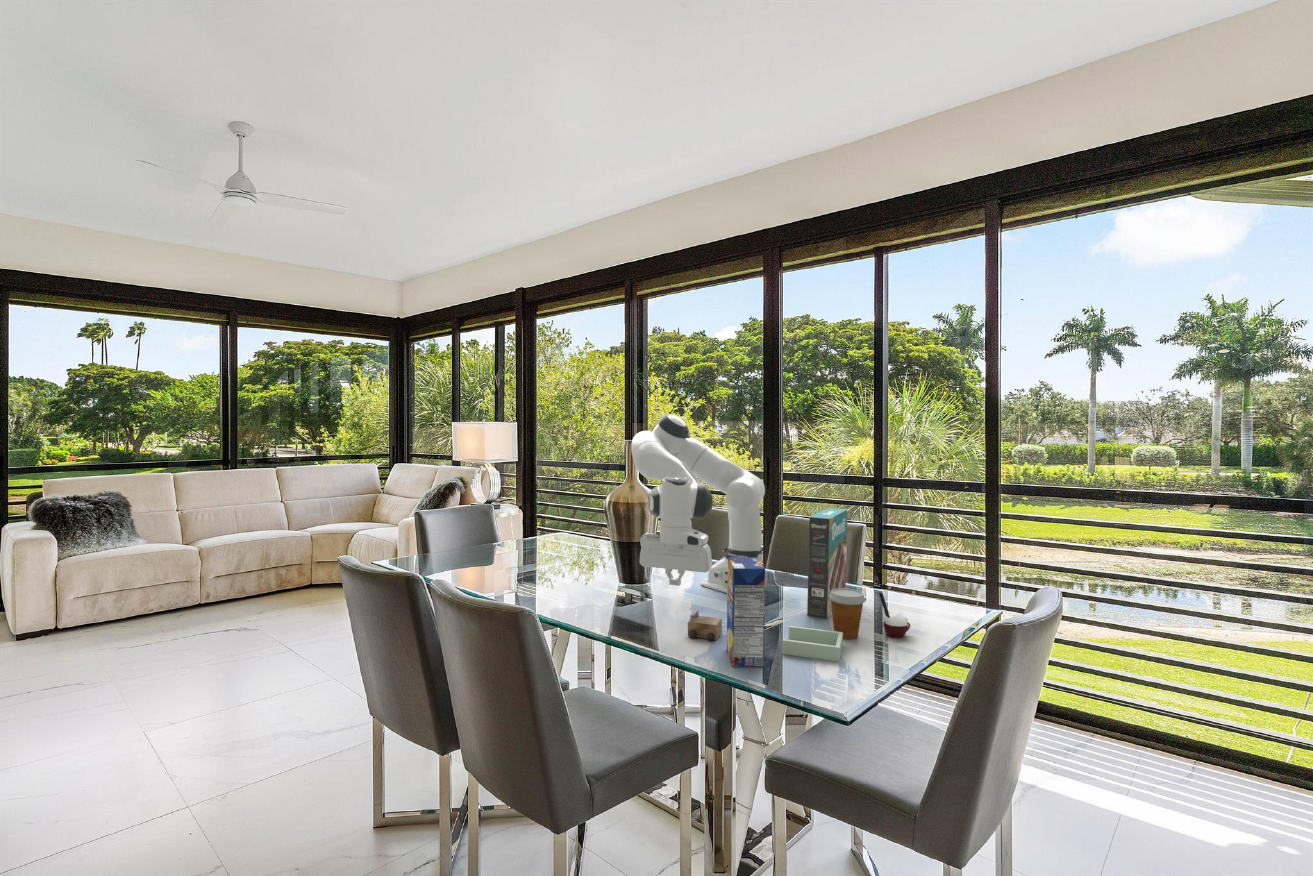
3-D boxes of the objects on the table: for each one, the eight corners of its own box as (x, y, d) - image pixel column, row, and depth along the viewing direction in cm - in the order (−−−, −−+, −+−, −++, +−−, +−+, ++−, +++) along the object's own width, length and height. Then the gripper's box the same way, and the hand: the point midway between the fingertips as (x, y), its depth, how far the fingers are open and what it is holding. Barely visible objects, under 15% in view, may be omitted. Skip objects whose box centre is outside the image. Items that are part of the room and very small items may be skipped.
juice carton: (726, 649, 168) (728, 557, 167) (755, 649, 168) (757, 557, 167) (732, 667, 156) (734, 568, 155) (763, 668, 156) (765, 568, 155)
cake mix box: (827, 619, 194) (829, 518, 193) (807, 615, 197) (809, 516, 196) (845, 600, 213) (847, 509, 212) (826, 597, 216) (829, 507, 215)
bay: (782, 653, 166) (782, 640, 166) (789, 638, 177) (789, 625, 177) (839, 661, 161) (839, 647, 161) (842, 645, 172) (842, 632, 172)
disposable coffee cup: (821, 632, 182) (822, 589, 182) (848, 627, 186) (849, 586, 186) (843, 643, 174) (844, 598, 173) (871, 638, 177) (872, 595, 177)
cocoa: (908, 634, 183) (911, 591, 183) (913, 641, 177) (916, 597, 176) (873, 630, 184) (876, 588, 184) (877, 637, 178) (880, 593, 178)
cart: (686, 637, 176) (687, 616, 176) (694, 628, 184) (695, 608, 183) (715, 641, 174) (715, 620, 174) (722, 632, 181) (722, 611, 181)
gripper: (636, 534, 181) (635, 583, 182) (707, 540, 174) (707, 591, 175) (644, 530, 187) (643, 578, 187) (713, 536, 180) (713, 585, 181)
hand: (674, 584), depth 181 cm, fingers closed
